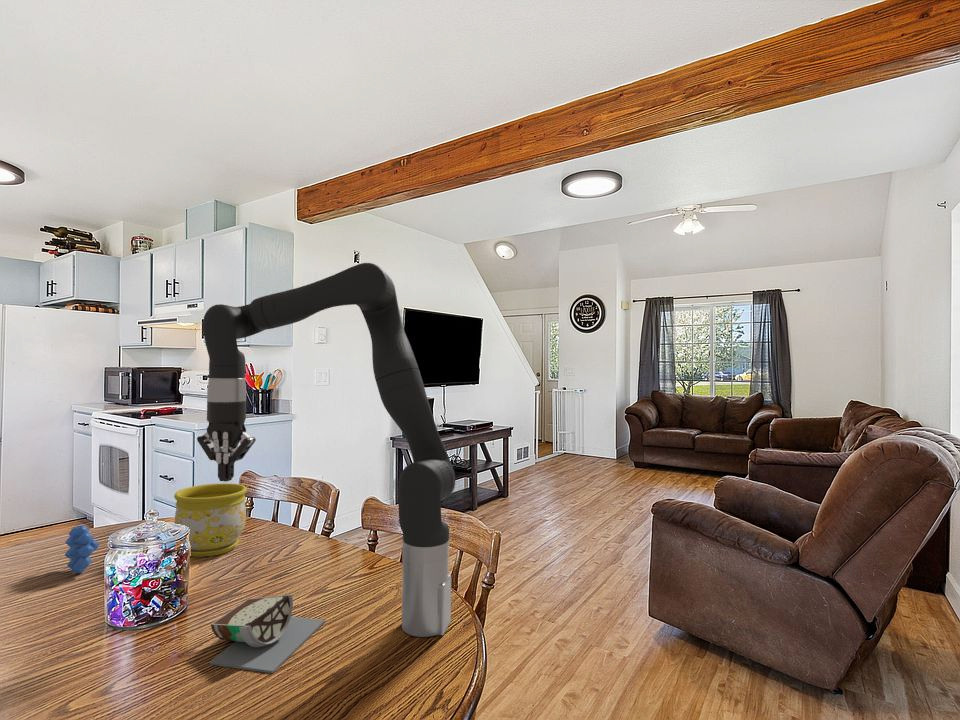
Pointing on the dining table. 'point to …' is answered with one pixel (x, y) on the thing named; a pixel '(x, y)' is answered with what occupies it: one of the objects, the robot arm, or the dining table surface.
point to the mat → (269, 648)
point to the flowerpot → (212, 516)
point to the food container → (256, 621)
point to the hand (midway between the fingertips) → (225, 480)
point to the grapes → (80, 548)
